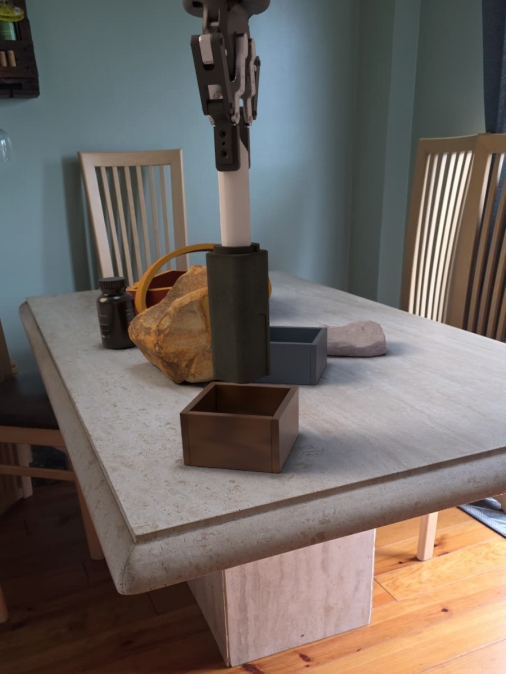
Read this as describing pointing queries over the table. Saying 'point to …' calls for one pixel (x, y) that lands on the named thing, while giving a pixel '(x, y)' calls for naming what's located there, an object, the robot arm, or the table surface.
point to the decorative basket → (163, 279)
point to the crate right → (297, 354)
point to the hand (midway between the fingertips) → (233, 170)
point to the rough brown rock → (178, 330)
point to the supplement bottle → (115, 312)
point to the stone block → (356, 339)
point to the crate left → (240, 426)
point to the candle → (238, 287)
